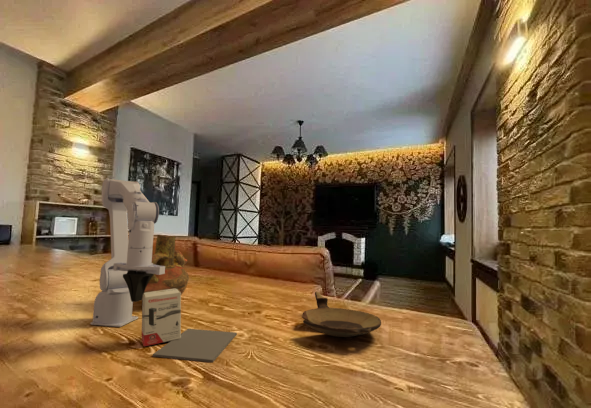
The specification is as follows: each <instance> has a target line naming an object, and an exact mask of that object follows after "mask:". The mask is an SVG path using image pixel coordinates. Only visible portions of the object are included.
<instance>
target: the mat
mask: <svg viewBox="0 0 591 408" xmlns="http://www.w3.org/2000/svg"><path fill="white" fill-rule="evenodd" d="M237 335H238V334H237V332H233V331H221V330H209V329H198V328H197V329H196V328H187V329H186V330H184V331H183V332H182V333H181V338H180V339H176V340H172V341H168V343H166V344H165V345H164V346H162V347H161V348H159V349H158V350H157V351H155V352H154V353H153V354H152V358H165V359H166V358H167V359H175V360H183V361H184V360H186V361H195V362H196V361H197V362H204V363H205V362H206V363H214V362H215V361H216V360H217V358H218V357H219V356H220V355H221V354H222V353H223V351H225V349H227V348H226V347H228V346H229V344H230V343H231V342H232V341H233V340H234V338H235V337H236V336H237Z"/></svg>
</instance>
